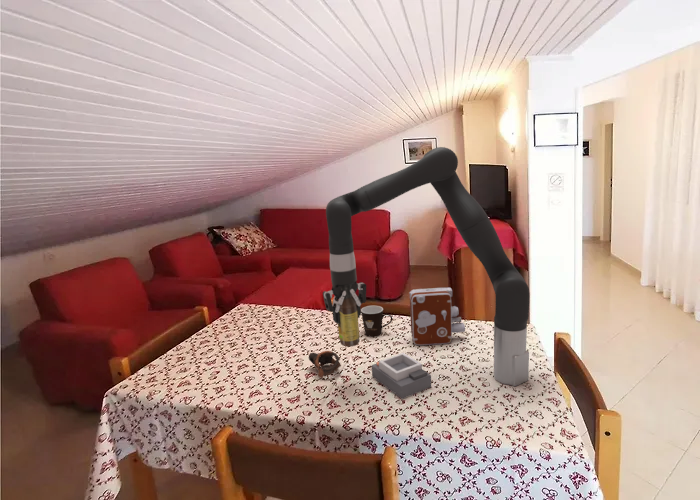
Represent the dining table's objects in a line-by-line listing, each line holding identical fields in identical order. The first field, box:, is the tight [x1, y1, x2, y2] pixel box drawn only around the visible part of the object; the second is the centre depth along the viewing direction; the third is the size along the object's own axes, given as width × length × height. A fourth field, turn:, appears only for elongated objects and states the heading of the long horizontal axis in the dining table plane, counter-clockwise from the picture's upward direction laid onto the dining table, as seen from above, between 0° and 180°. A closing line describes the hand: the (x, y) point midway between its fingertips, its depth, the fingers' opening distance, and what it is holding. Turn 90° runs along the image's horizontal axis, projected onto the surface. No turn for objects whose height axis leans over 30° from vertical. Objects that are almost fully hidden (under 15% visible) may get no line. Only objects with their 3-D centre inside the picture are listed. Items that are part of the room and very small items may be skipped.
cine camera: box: [408, 287, 466, 346], centre depth 164 cm, size 9×19×20 cm, turn 89°
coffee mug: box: [360, 305, 393, 338], centre depth 174 cm, size 12×9×10 cm
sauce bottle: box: [337, 285, 360, 348], centre depth 136 cm, size 6×6×20 cm
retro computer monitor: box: [371, 352, 432, 400], centre depth 140 cm, size 16×11×6 cm
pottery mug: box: [308, 350, 342, 379], centre depth 150 cm, size 12×10×8 cm
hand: (347, 319), depth 136 cm, fingers closed on sauce bottle, 6 cm apart
